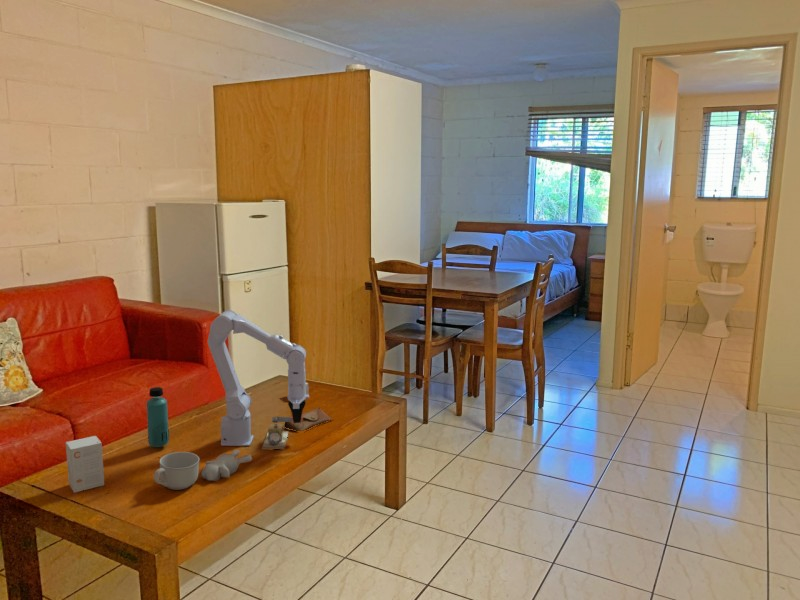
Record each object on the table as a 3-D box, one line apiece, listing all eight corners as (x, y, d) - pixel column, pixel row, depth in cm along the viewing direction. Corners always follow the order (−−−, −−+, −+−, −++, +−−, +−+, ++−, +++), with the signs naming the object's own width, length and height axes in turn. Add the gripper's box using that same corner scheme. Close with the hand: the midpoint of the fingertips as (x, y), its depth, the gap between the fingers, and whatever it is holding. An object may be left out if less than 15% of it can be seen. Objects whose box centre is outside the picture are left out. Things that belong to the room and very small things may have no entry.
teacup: (186, 472, 189) (185, 447, 188) (207, 484, 183) (207, 458, 181) (142, 489, 179) (141, 462, 177) (163, 502, 172) (162, 474, 170)
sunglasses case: (301, 434, 220) (294, 416, 221) (289, 439, 224) (281, 421, 225) (335, 419, 234) (328, 402, 235) (323, 424, 239) (316, 408, 239)
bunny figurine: (193, 464, 186) (233, 443, 198) (195, 480, 187) (235, 457, 199) (214, 473, 181) (254, 450, 192) (217, 489, 182) (256, 465, 194)
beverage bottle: (162, 452, 203) (160, 392, 199) (143, 450, 204) (140, 390, 200) (173, 444, 209) (171, 386, 205) (155, 442, 210) (152, 384, 206)
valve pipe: (280, 446, 208) (280, 431, 207) (266, 446, 208) (266, 431, 207) (284, 433, 219) (284, 418, 218) (271, 433, 219) (271, 418, 218)
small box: (98, 477, 185) (96, 435, 183) (104, 485, 180) (102, 442, 178) (68, 484, 180) (65, 441, 178) (73, 493, 175) (70, 449, 173)
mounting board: (284, 449, 207) (284, 446, 207) (262, 449, 207) (262, 446, 207) (288, 434, 220) (288, 431, 220) (268, 433, 220) (268, 431, 219)
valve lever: (271, 423, 211) (271, 418, 210) (272, 420, 213) (272, 415, 213) (303, 422, 212) (303, 417, 212) (303, 420, 215) (303, 415, 214)
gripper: (308, 389, 203) (308, 430, 205) (309, 376, 217) (309, 414, 219) (286, 390, 202) (286, 430, 204) (288, 376, 216) (288, 414, 218)
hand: (297, 422), depth 212 cm, fingers closed, pressing on valve lever
